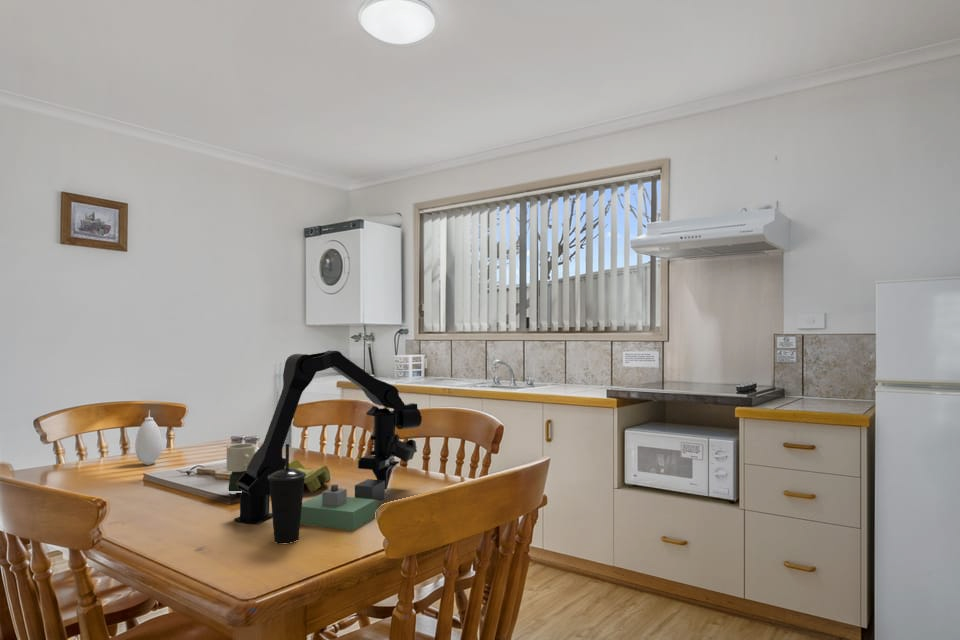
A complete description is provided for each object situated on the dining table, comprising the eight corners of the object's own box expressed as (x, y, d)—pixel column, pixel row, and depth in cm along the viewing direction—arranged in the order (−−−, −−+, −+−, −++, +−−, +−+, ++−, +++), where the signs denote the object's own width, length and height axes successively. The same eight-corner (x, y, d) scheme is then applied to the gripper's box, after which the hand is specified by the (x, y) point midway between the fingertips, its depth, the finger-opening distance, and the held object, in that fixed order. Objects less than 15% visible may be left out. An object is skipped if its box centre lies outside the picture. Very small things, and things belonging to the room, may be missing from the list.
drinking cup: (266, 548, 123) (267, 448, 123) (268, 536, 130) (269, 442, 131) (305, 544, 125) (306, 446, 126) (305, 532, 133) (306, 440, 133)
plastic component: (270, 475, 176) (299, 456, 182) (281, 497, 178) (310, 477, 184) (298, 483, 161) (329, 461, 167) (310, 506, 163) (341, 484, 169)
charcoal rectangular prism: (372, 506, 153) (372, 486, 153) (354, 505, 154) (354, 485, 154) (384, 499, 159) (385, 480, 160) (367, 498, 161) (367, 479, 161)
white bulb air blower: (159, 461, 206) (159, 407, 207) (164, 465, 200) (164, 409, 201) (133, 464, 202) (133, 409, 202) (137, 468, 195) (137, 411, 196)
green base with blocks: (353, 530, 134) (353, 492, 134) (294, 523, 139) (295, 487, 139) (388, 509, 150) (388, 475, 150) (335, 503, 155) (335, 471, 155)
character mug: (261, 496, 162) (262, 446, 163) (234, 500, 158) (235, 450, 158) (246, 488, 170) (246, 441, 171) (219, 492, 166) (220, 444, 166)
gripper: (396, 438, 153) (396, 501, 153) (425, 427, 171) (425, 483, 171) (357, 436, 157) (356, 497, 157) (389, 425, 175) (389, 480, 174)
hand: (384, 489), depth 165 cm, fingers closed
